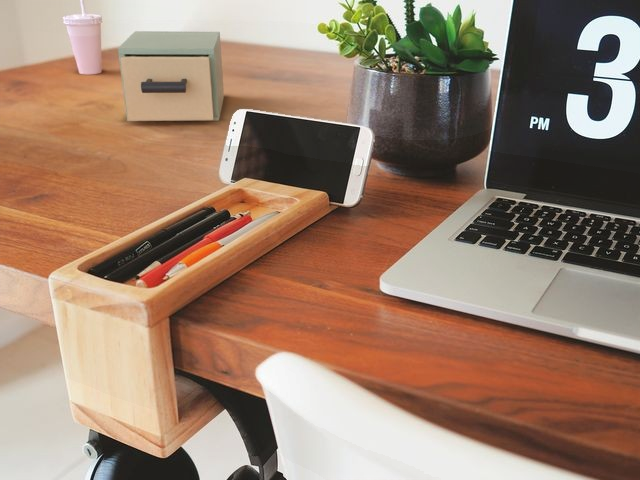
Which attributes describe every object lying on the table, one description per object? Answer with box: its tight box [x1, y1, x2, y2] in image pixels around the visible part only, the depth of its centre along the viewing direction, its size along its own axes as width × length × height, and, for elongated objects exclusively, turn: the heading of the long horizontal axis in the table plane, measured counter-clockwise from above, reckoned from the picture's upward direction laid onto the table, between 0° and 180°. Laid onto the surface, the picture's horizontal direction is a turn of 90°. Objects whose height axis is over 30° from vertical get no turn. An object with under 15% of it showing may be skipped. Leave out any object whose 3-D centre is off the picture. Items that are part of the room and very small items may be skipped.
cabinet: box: [117, 30, 225, 122], centre depth 105 cm, size 15×13×10 cm
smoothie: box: [62, 0, 103, 75], centre depth 125 cm, size 6×6×14 cm
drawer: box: [120, 54, 214, 122], centre depth 101 cm, size 18×11×8 cm, turn 7°
